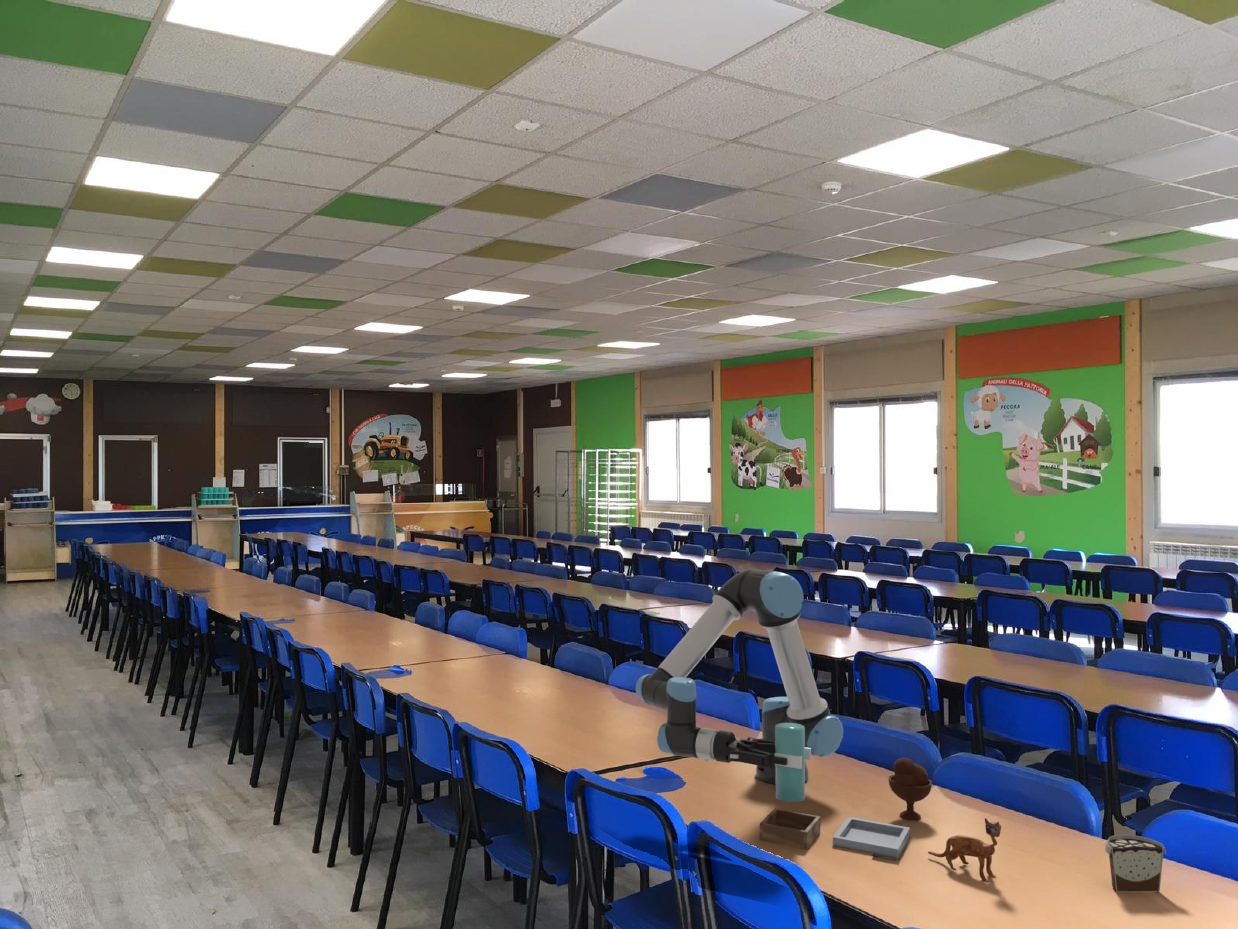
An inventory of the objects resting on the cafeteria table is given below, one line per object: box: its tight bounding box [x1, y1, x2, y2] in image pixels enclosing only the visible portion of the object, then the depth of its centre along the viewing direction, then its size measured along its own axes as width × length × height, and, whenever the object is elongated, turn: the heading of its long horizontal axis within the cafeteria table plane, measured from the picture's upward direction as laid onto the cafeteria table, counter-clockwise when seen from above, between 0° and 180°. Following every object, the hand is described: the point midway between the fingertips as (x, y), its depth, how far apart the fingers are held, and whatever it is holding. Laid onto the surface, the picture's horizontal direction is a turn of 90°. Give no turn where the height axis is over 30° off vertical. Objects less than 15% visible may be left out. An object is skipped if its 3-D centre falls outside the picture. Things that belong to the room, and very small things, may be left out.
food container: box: [1104, 834, 1167, 894], centre depth 196 cm, size 12×6×10 cm, turn 92°
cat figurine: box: [927, 817, 1002, 883], centre depth 204 cm, size 18×6×13 cm, turn 41°
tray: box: [832, 816, 911, 861], centre depth 219 cm, size 15×15×2 cm
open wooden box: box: [759, 808, 821, 850], centre depth 221 cm, size 12×12×4 cm
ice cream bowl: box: [888, 757, 933, 822], centre depth 236 cm, size 11×11×15 cm
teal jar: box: [775, 723, 806, 803], centre depth 221 cm, size 7×7×17 cm
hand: (806, 758), depth 219 cm, fingers closed on teal jar, 7 cm apart
